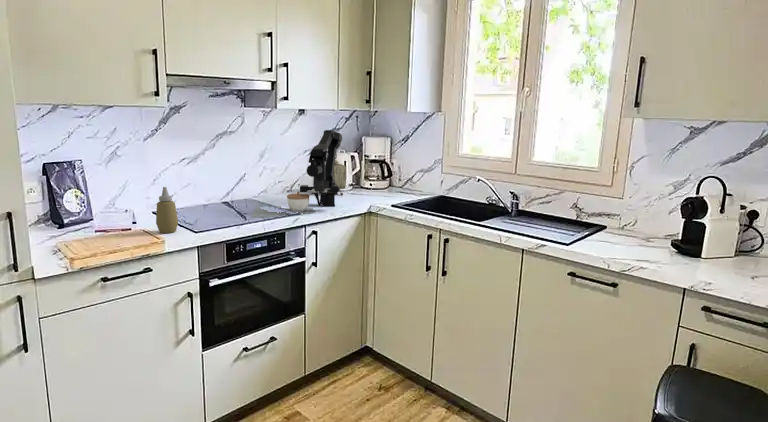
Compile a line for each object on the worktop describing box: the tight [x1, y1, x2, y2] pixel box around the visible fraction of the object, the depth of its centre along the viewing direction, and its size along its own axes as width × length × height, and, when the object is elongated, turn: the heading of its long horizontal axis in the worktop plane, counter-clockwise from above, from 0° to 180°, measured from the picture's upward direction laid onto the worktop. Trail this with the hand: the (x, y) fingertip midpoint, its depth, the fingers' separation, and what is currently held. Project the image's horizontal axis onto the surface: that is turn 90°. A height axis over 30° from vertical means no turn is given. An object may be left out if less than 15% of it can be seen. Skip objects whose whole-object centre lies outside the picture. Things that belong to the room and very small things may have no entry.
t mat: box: [250, 205, 314, 218], centre depth 240 cm, size 28×26×1 cm
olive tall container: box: [333, 152, 347, 196], centre depth 288 cm, size 14×9×25 cm, turn 30°
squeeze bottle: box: [155, 186, 179, 234], centre depth 195 cm, size 8×8×18 cm
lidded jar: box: [286, 191, 310, 212], centre depth 240 cm, size 11×11×9 cm
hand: (319, 205), depth 242 cm, fingers closed
